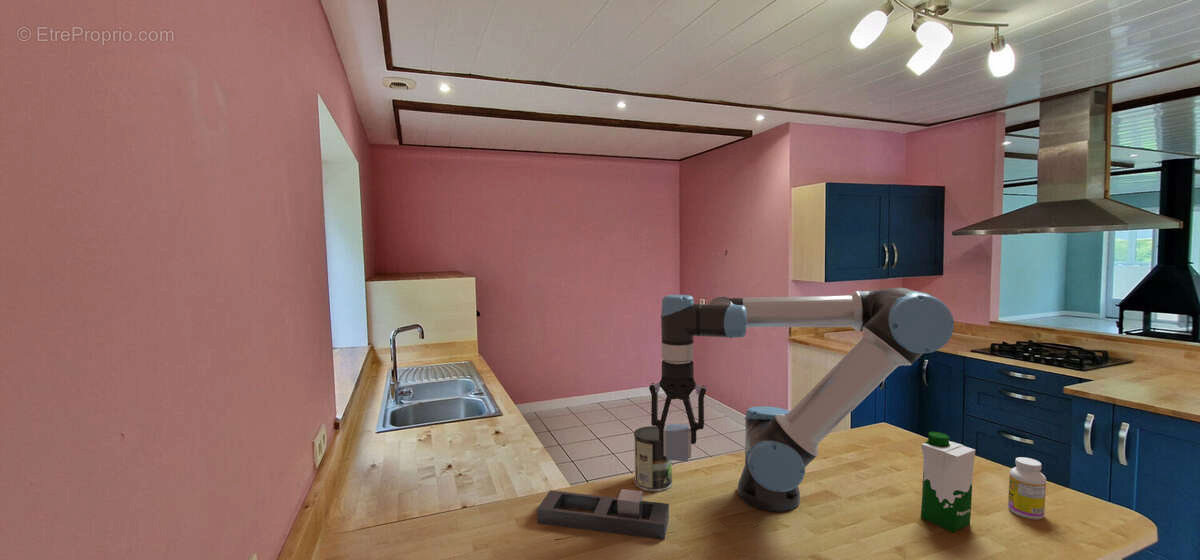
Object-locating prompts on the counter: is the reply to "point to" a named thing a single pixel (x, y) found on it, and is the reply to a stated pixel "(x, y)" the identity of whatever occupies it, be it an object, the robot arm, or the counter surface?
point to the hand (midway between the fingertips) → (677, 454)
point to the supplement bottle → (1027, 489)
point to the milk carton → (947, 482)
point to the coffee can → (651, 461)
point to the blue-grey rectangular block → (677, 442)
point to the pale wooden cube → (630, 504)
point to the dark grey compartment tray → (602, 515)
